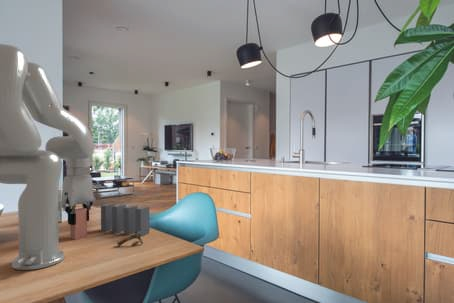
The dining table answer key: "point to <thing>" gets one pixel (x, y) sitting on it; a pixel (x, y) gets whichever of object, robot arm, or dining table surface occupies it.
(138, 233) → the wooden post with brackets
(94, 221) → the dining table surface
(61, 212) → the syrup box
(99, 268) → the dining table surface
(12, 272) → the dining table surface
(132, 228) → the domino
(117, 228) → the domino
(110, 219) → the domino
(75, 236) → the domino
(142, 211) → the domino
